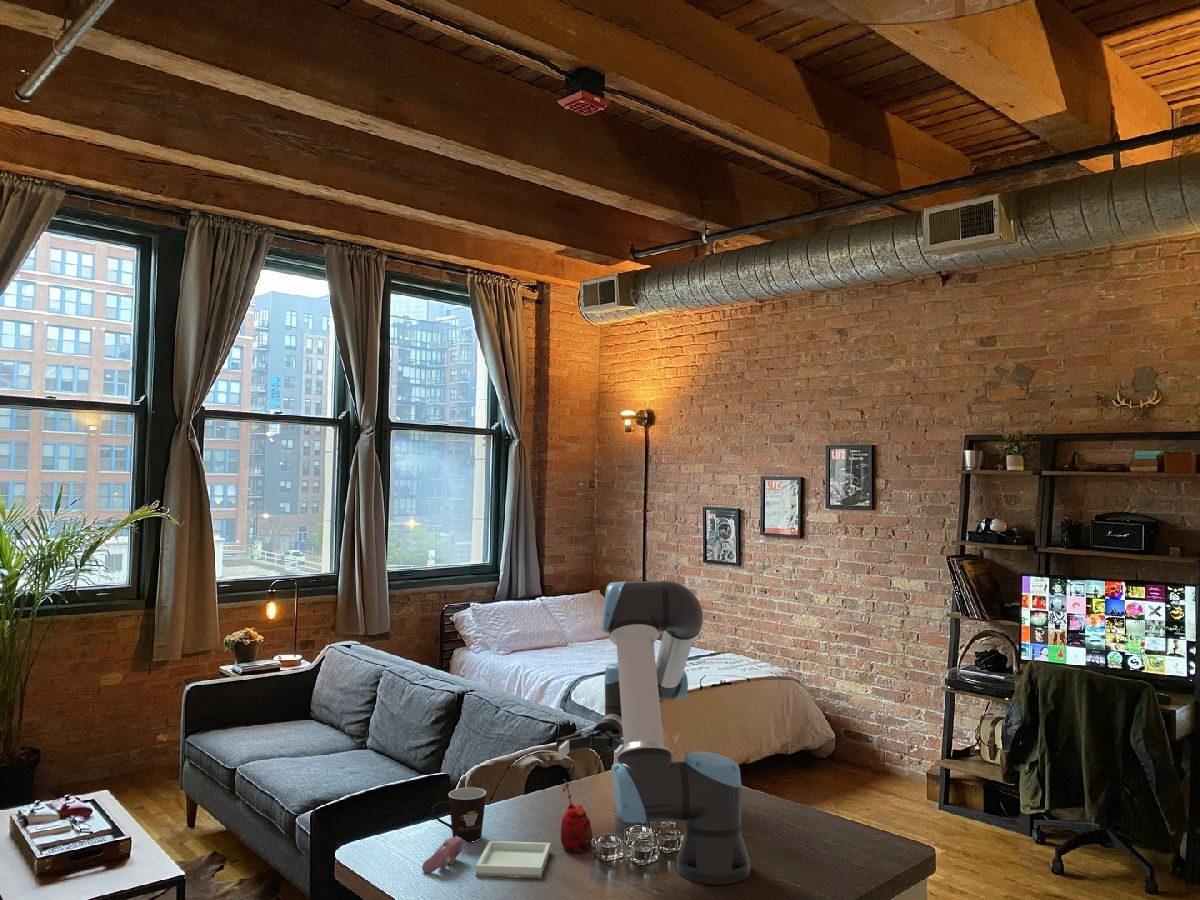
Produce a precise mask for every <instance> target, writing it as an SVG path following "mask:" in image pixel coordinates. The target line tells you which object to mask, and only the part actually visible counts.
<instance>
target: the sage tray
mask: <svg viewBox="0 0 1200 900" xmlns="http://www.w3.org/2000/svg"><path fill="white" fill-rule="evenodd" d="M551 845H552V844H551V842H539V841H538V842H536V841H535V842H533V841H531V842H530V841H505V840H504V841H502V840H501V841H499V840H497V841H496V840H489V841H488V842H487V844H486V846H485V848H484V850H483V852H482V853H481V856H480V857H479V859H478V860H477V863H476V864H475V877H489V876H509V877H508V878H515V877H514V876H520V877H521V876H523V877H541V876H542V877H543V875H542V873H543V874H544V872H545V869H544V868H546V867H545V865H546V866H547V864H548V861H549V858H548V857H550V856H549V854H550V855H551V853H550V852H551V851H552V849H551V848H552V847H551ZM547 860H548V861H547ZM546 863H547V864H546ZM543 871H544V872H543ZM510 876H512V877H510ZM542 877H541V878H542Z"/></svg>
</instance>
